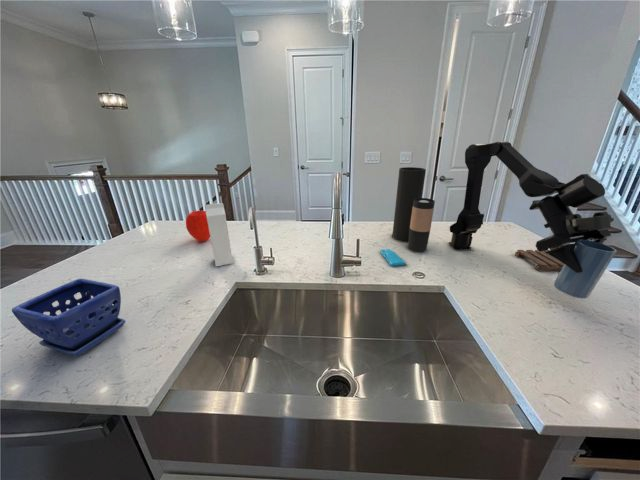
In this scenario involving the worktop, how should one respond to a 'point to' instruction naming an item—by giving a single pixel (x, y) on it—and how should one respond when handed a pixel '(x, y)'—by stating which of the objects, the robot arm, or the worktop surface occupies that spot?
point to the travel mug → (420, 224)
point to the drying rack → (541, 260)
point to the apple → (198, 225)
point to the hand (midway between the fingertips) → (590, 270)
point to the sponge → (392, 257)
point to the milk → (219, 233)
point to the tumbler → (585, 268)
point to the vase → (407, 199)
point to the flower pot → (73, 315)
